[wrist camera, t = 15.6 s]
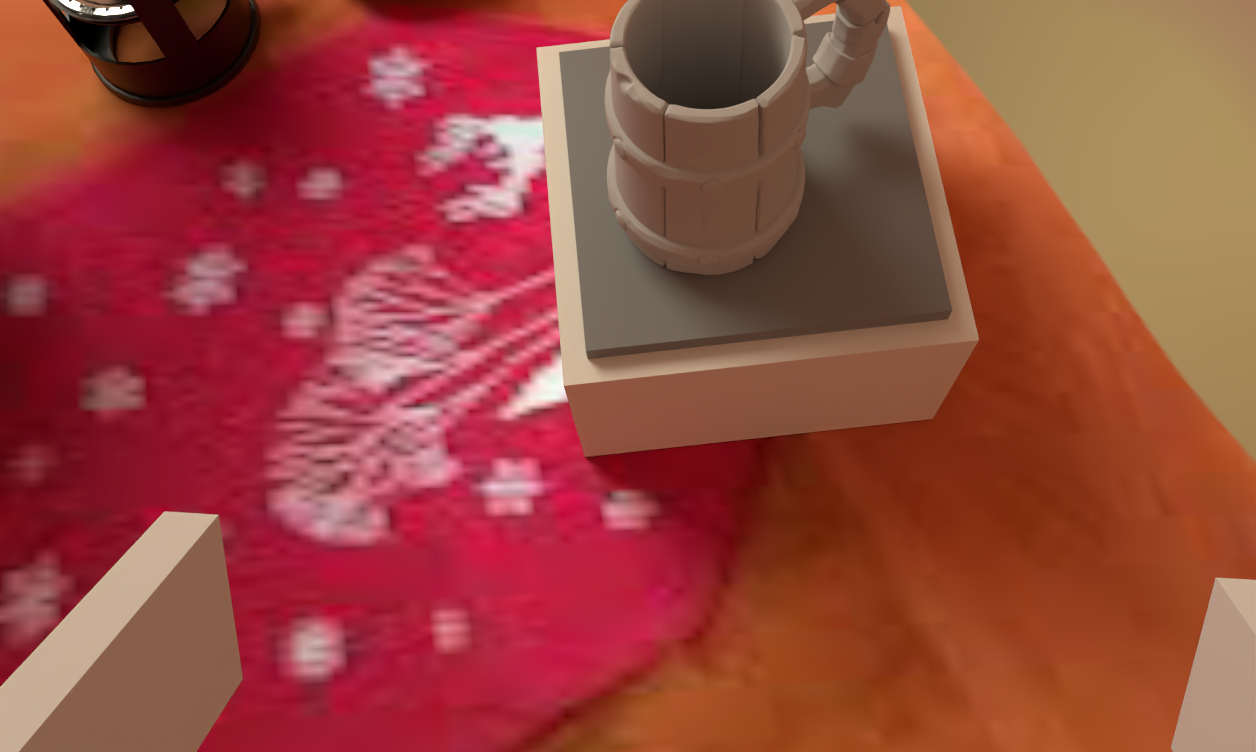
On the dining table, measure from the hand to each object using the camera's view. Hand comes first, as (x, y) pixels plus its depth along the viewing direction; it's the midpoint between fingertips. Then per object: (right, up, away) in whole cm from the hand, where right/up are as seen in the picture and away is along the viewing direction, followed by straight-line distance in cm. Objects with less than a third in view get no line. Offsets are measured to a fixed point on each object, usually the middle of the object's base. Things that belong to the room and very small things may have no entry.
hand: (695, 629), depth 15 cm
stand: (+4, +8, +39) cm, 40 cm away
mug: (+4, +12, +30) cm, 33 cm away
